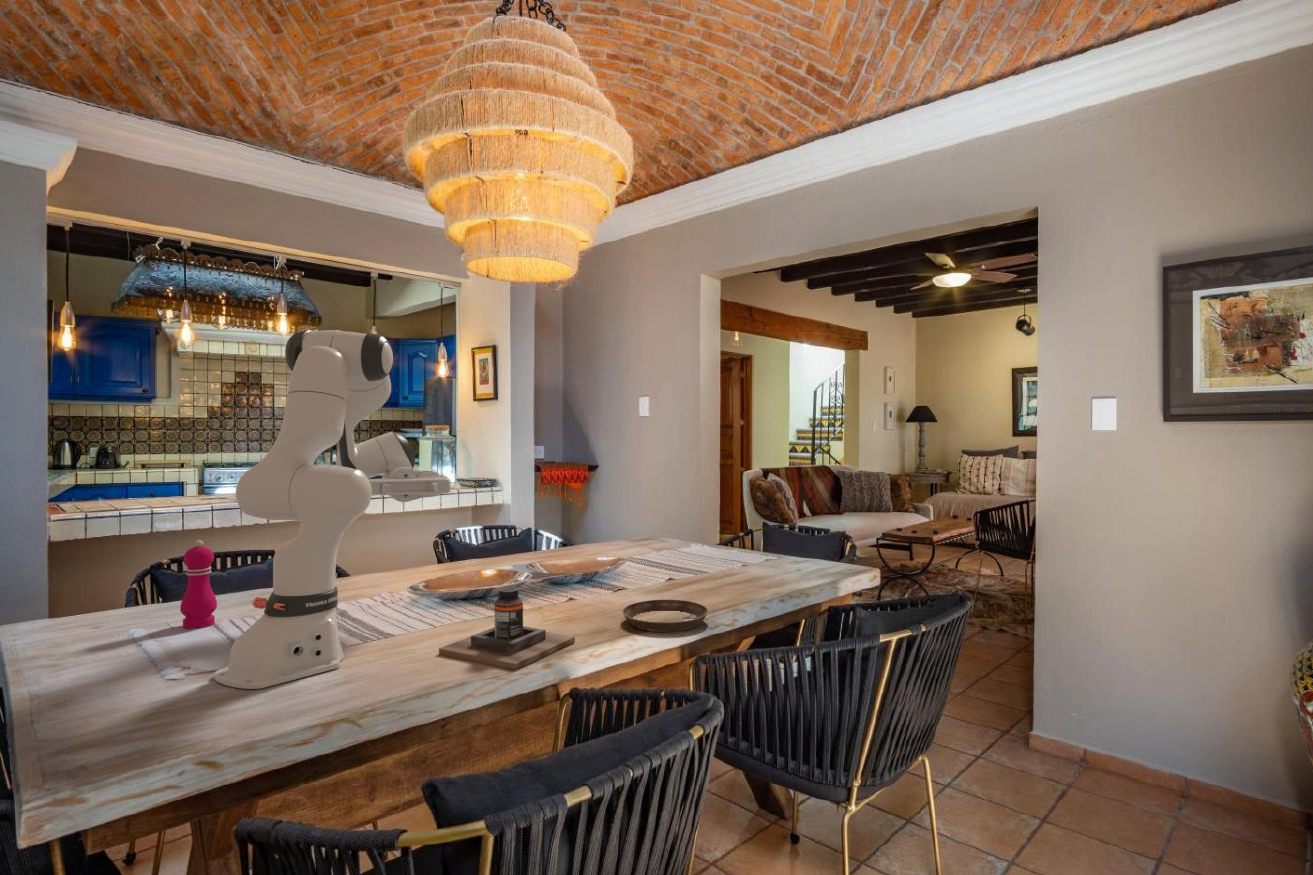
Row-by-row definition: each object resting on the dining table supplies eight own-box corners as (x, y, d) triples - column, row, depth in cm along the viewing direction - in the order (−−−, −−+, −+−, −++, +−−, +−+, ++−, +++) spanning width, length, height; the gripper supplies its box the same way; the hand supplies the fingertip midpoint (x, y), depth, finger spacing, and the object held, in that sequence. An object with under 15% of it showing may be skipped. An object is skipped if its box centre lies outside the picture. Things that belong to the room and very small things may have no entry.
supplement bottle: (508, 636, 151) (508, 584, 151) (528, 640, 148) (529, 588, 148) (488, 643, 146) (488, 590, 146) (509, 648, 143) (509, 593, 143)
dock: (516, 670, 134) (516, 653, 134) (438, 654, 143) (438, 638, 143) (574, 642, 151) (574, 627, 151) (502, 629, 161) (502, 616, 161)
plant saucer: (655, 641, 154) (655, 626, 154) (606, 620, 171) (606, 606, 171) (725, 626, 166) (725, 612, 166) (673, 608, 183) (673, 595, 183)
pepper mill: (224, 621, 166) (224, 538, 166) (201, 630, 159) (201, 542, 159) (196, 620, 167) (196, 537, 167) (172, 628, 160) (172, 542, 160)
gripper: (360, 473, 175) (365, 476, 163) (444, 471, 185) (454, 474, 172) (360, 498, 175) (365, 503, 163) (444, 495, 185) (454, 500, 172)
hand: (412, 488), depth 168 cm, fingers open, 8 cm apart
